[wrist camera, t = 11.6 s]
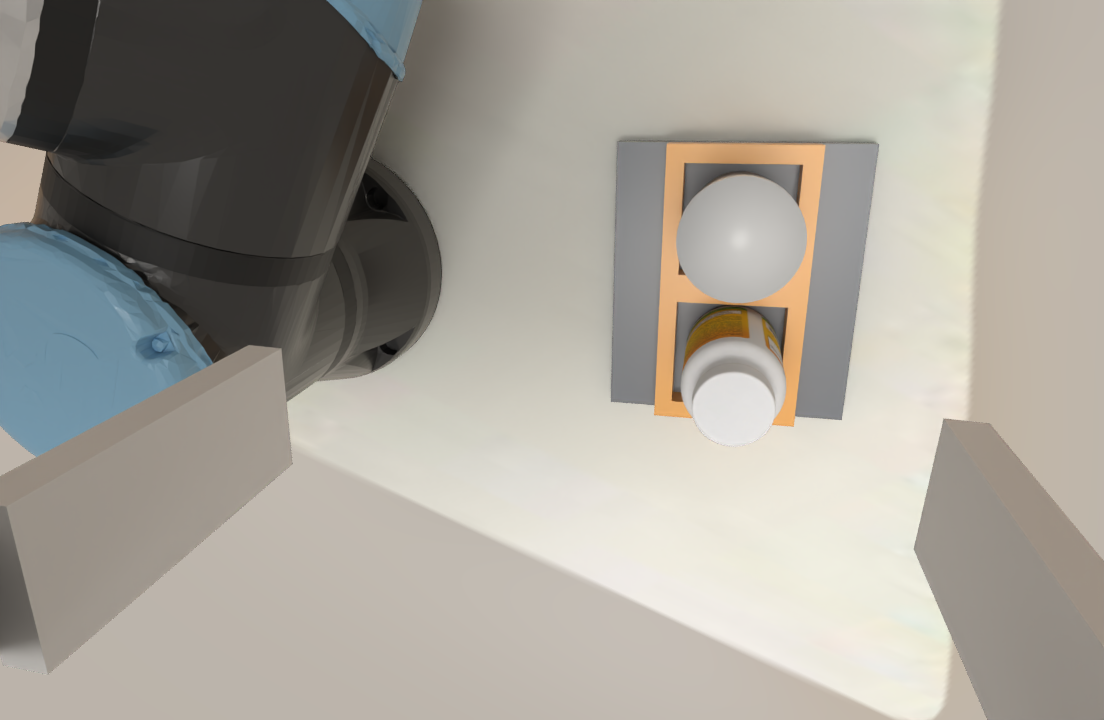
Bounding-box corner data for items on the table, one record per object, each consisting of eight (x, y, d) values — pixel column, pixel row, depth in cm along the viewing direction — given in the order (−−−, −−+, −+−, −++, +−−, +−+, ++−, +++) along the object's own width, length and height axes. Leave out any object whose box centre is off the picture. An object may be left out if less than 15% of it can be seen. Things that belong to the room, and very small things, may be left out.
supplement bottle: (670, 363, 46) (657, 428, 37) (713, 288, 44) (709, 338, 35) (749, 403, 46) (754, 479, 37) (796, 329, 44) (813, 391, 35)
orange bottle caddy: (613, 394, 49) (590, 454, 41) (620, 140, 44) (595, 150, 35) (838, 412, 46) (863, 480, 38) (874, 142, 41) (913, 153, 32)
